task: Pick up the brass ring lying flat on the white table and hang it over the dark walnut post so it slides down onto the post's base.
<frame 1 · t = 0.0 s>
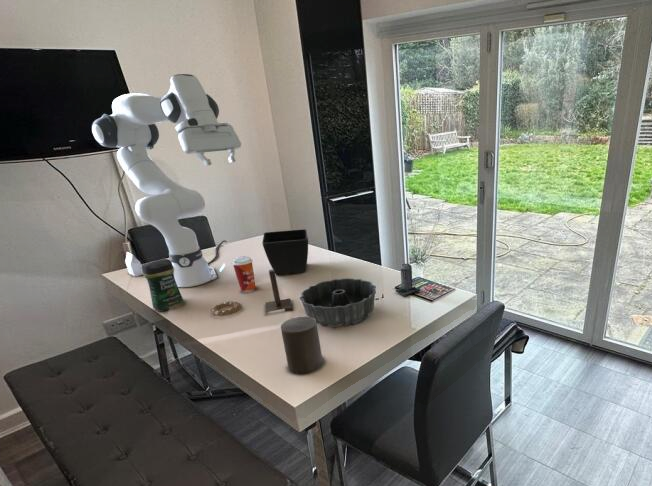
hand: (221, 163, 144), 52 cm above the table, tool tilted 20°, fingers open, 8 cm apart
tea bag: (136, 274, 190), on the table
ring: (226, 309, 152), point 1 cm above the table
paper cup: (249, 290, 171), on the table
post: (278, 307, 155), on the table
coffee jar: (169, 306, 158), on the table
flower pot: (291, 270, 192), on the table
pillar candle: (306, 365, 120), on the table
bundt pan: (342, 316, 148), on the table
grey tower model: (407, 293, 167), on the table
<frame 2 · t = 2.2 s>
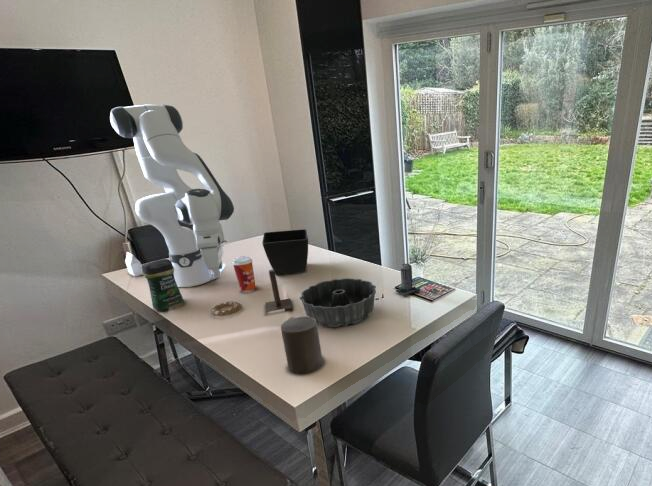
hand: (219, 272, 150), 15 cm above the table, tool pointing down, fingers open, 8 cm apart
nothing on the table moved.
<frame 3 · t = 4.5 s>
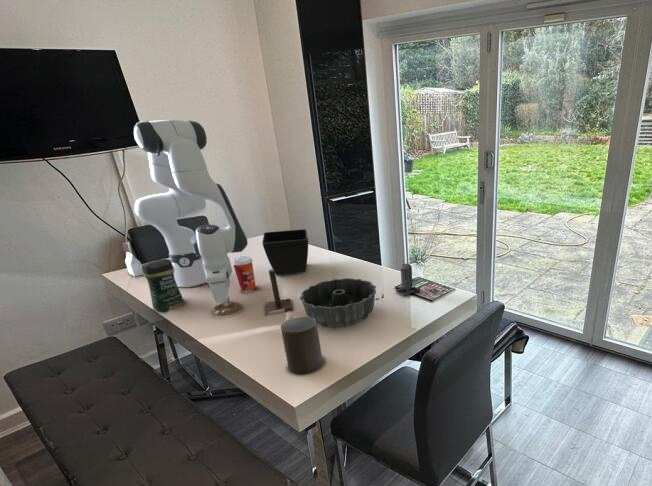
hand: (226, 303, 155), 2 cm above the table, tool pointing down, fingers closed on ring, 2 cm apart
ring: (226, 309, 152), point 1 cm above the table, touching gripper
everything else where it was.
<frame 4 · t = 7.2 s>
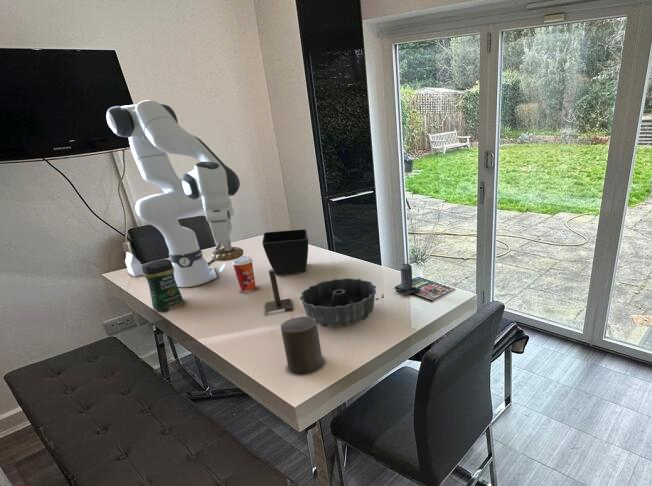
hand: (228, 248, 147), 23 cm above the table, tool pointing down, fingers closed on ring, 2 cm apart
ring: (227, 253, 144), point 23 cm above the table, touching gripper
everything else where it was.
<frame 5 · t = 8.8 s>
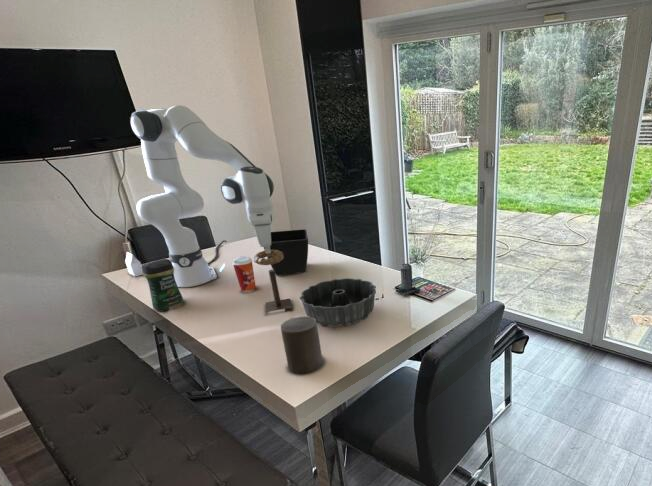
hand: (268, 251, 150), 21 cm above the table, tool pointing down, fingers closed on ring
ring: (268, 257, 147), point 20 cm above the table, tilted 5°, touching gripper
everything else where it was.
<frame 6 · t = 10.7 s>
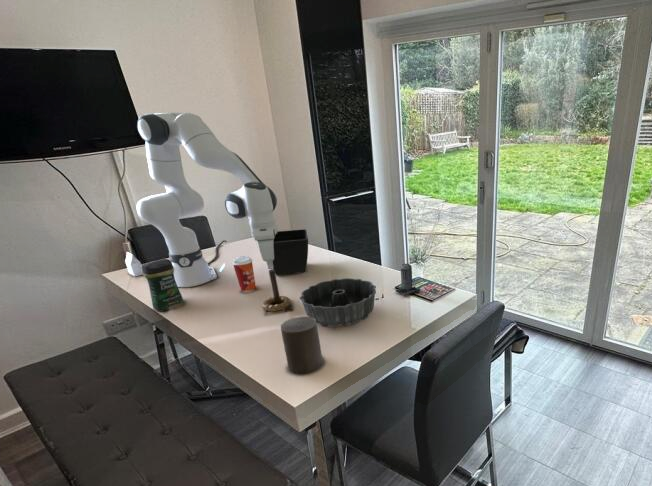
hand: (270, 265, 152), 16 cm above the table, tool pointing down, fingers open, 6 cm apart
ring: (276, 303, 153), point 2 cm above the table, touching post
everything else where it was.
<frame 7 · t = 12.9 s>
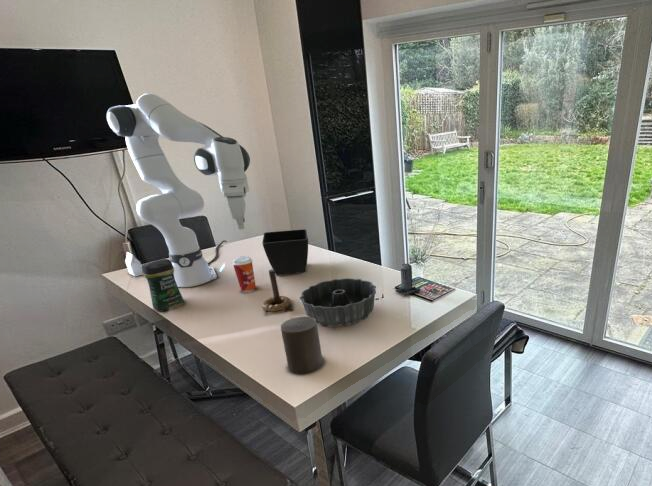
hand: (242, 225, 148), 31 cm above the table, tool pointing down, fingers open, 8 cm apart
nothing on the table moved.
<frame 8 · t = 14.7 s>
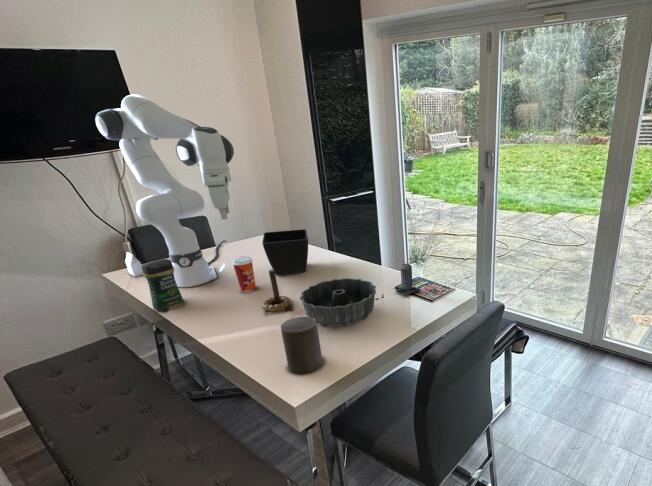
hand: (225, 216, 147), 34 cm above the table, tool pointing down, fingers open, 8 cm apart
nothing on the table moved.
at the end: ring 1.3 cm from the post (horizontally); ring point 2.4 cm above the table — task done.
